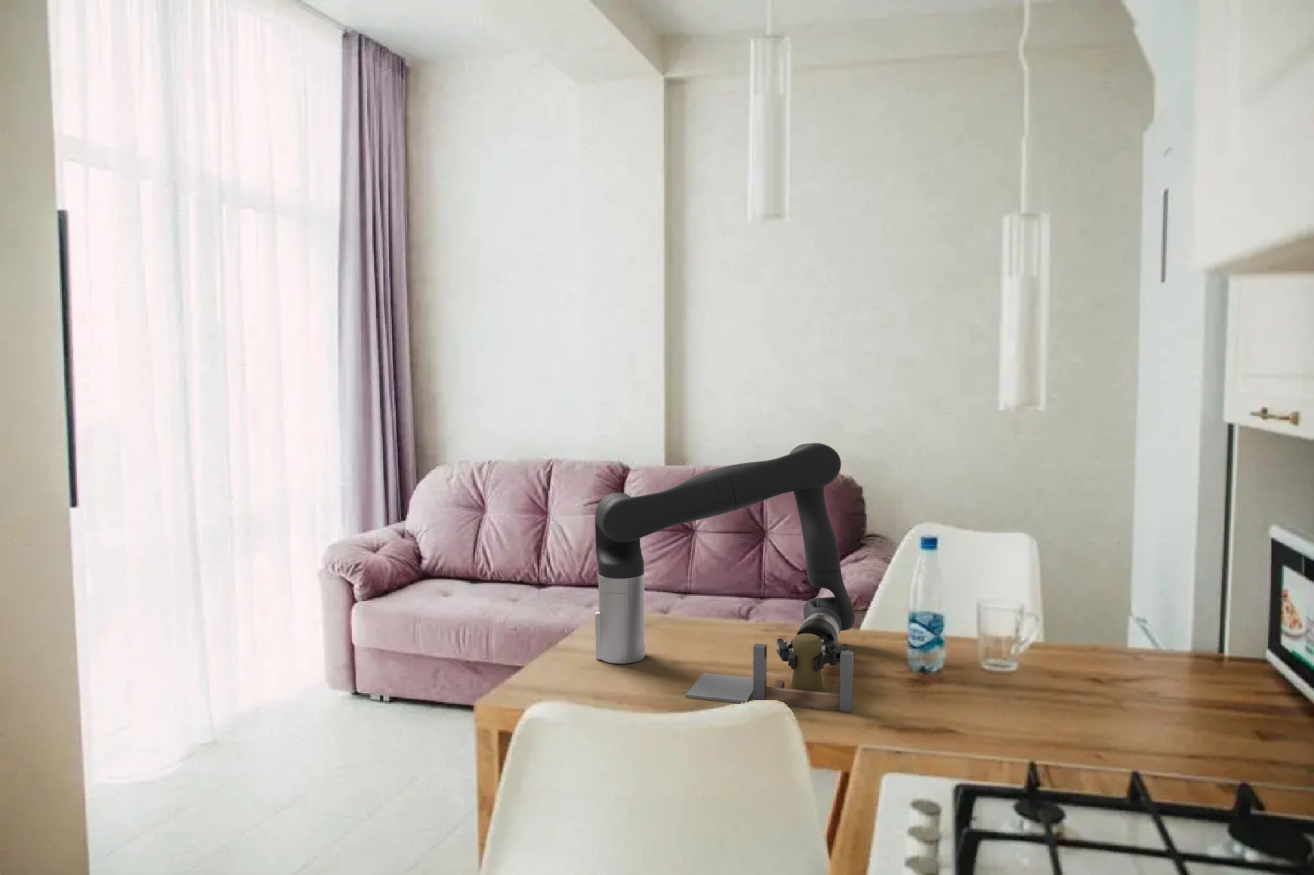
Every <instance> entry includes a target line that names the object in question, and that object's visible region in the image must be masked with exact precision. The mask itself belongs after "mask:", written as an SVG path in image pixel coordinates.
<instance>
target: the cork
mask: <svg viewBox="0 0 1314 875" xmlns="http://www.w3.org/2000/svg"><path fill="white" fill-rule="evenodd" d="M796 635H797V634H796ZM796 635H795V636H794V638H793V639H792V640H793V650H794V651H795V653H796V655H797V659H796V669H792V678H791V685H790V689H795V690H805V691H815V692H824V684H823V683H824V682H823V677H822V676H823V675H822V669H819V671H814V659H815V657H816V656H818V655H819V653H820V652H821V649H822V641H821V639H820V638H819V637H818V636H817V635H814V634H807V633H806V634H799V635H797V636H796Z"/></svg>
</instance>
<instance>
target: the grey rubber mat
mask: <svg viewBox="0 0 1314 875" xmlns="http://www.w3.org/2000/svg"><path fill="white" fill-rule="evenodd" d="M752 696H753V676H741V675H730V674H729V675H728V674H718V673H708V672H702V673H701V675H700V676H699V677H698V678H697V680H696V681H695V682H694V683H693V685H691V687H690V689H689V691H687V693H686V694H685V698H688V699H697V700H698V699H699V700H706V701H707V700H709V701H718V702H725V703H726V702H727V703H737V704H741V703H740V702H746V701H748V702H749V700H750V699H751V697H752ZM732 701H733V702H732Z"/></svg>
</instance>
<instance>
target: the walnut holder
mask: <svg viewBox="0 0 1314 875" xmlns="http://www.w3.org/2000/svg"><path fill="white" fill-rule="evenodd" d="M752 647H753V648H752V650H753V651H752V656H753V657H752V658H753V659H752V666H753V667H752V670H753V671H752V674H753V675H752V678H753V694H752V696H753V697H752V698H753V700H778V701H781V702H784V703H785V704H788V705H787V706H791V705H792V707H800V706H802V707H803V706H804V707H803V708H810V707H812V709H819V710H829V709H833V710H832V711H838V710H839V712H842V713H851V714H852V713H853V710H854V651H851V650H849V651H841V654H840V663H839V667H840V668H839V669H840V672H839V677H840V679H839V685H833V688H832V690H831V692H815V691H805V690H795V689H791V688H785V680H781V679H778V680H777V681H776V683H775V684H774V686H768V679H767V678H768V676H767V674H768V671H767V670H768V665H767V664H768V663H767V662H768V659H767V658H768V656H767V655H768V654H767V652H768V649H767V648H768V645H767V643H757V642H756V643H755V644H754V645H753V646H752ZM753 700H752V701H753ZM802 707H801V708H802Z"/></svg>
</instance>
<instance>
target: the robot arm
mask: <svg viewBox="0 0 1314 875" xmlns="http://www.w3.org/2000/svg"><path fill="white" fill-rule="evenodd" d="M841 468H842V461H841V457H840V455H839V454H838V452H837V451H836V450H835V449H834V448H833V447H831V446H830V445H828V444H824V443H819V442H814V443H811V442H810V443H802V444H799V445H796V446H795V447H794V448H793V449H792V450H791V451H790V452H789V454H786V455H783V456H780V457H776V458H772V459H768V460H762V461H751V462H743V463H737V464H732V465H730V464H729V465H727V466H722V467H717V468H714V469H711V470H707V471H704V472H700V473H698V474H696V475H693V476H691V477H688V478H687V479H684V480H683V481H681V482H680V483H678V484H676V485H674V486H672V487H670V488H668V489H665V490H661V491H659V492H654V493H648V494H644V495H638V496H637V495H636V496H631V495H629V494H627V493H624V492H611V493H610V494H607V495H605V496H604V497H602V498H601V500H600V501H599V502H598V504H597V507H596V508H595V515H594V517H595V518H594V528H595V530H594V531H595V533H594V534H595V554H596V555H595V557H596V562H597V568H598V569H597V571H598V572H597V574H598V610H597V611H596V612H595V616H594V617H595V619H594V620H595V626H594V627H595V659H596V660H599V661H600V660H601V661H603V662H606V663H608V664H609V663H610V664H616V665H617V664H620V665H623V664H632V663H636V662H640V661H642V660H643V659H645V657H646V642H645V640H646V639H645V638H646V635H645V634H646V631H645V630H646V626H645V625H646V624H645V621H646V619H645V615H646V614H645V613H646V612H645V611H646V610H645V560H644V556H643V554H642V553H643V552H642V546H641V539H642V538H645V537H647V536H649V535H651V534H654V533H657V532H660V531H662V530H664V529H668V528H670V527H673V526H677V525H681V524H687V523H691V522H696V521H700V520H704V519H708V518H712V517H716V516H720V515H723V514H728V513H731V512H734V511H737V510H740V509H743V508H747V507H749V506H752V505H755V504H758V503H761V502H764V501H767V500H768V499H771V498H774V497H777V496H779V495H782V494H786V493H787V494H788V493H791V492H793V495H794V500H795V503H796V508H797V512H798V515H799V521H800V526H801V527H800V528H801V531H802V532H801V533H802V539H803V547H804V555H805V565H806V572H807V580H808V584H809V585H810V586H812V587H815V588H821V589H825V590H828V591H830V592H831V593H832V594H833V596H829V597H826V596H825V597H814V598H813V597H812V598H810V599H809V600H807V601H806V602H805V603H804V606H803V619H804V621H803V622H802V624H801V626H800V627H799V630H798V631H797V633H796V635H795V636H797V635H799V634H806V633H807V634H814V635H817V636H818V637H819V638H820V639H821V641H822V649H821V652H820V653H819V655H818V656H816V657H815V659H814V671H819V669H821V670H823V669H824V667H825V666H826V665H827V664H829V666H831V667H835V666H837V665H840V654H841V651H850V649H849V647H850V645H849V644H847V643H843V644H841V645H840V644H839V641H840V634H841V632H842V631H848V630H851V629H852V627H853V626H854V624H855V621H856V612H855V609H854V606H853V605H854V604H853V603H852V600H851V599H850V596H849V594H848V592H847V589H846V585H845V583H844V580H843V575H842V574H843V573H842V567H841V560H840V549H839V545H838V541H837V537H836V534H835V532H834V529H833V525H832V523H831V520H830V517H829V514H828V509H827V507H826V501H825V486H826V487H827V486H828V485H830V484H831V483H832V482H834V481H835V480H836V478H837V477H838V475H839V474H840V471H841ZM838 644H839V645H838ZM776 653H777V655H778V657H779V658H780V660H781V661H783V662H785V663H787V665H788V667H790V669H791V670H793V669H796V659H797V655H796V653H795V651H794V650H793V639H791V640H790V642H788V641H787V640H785V639H783V638H777V639H776Z"/></svg>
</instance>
